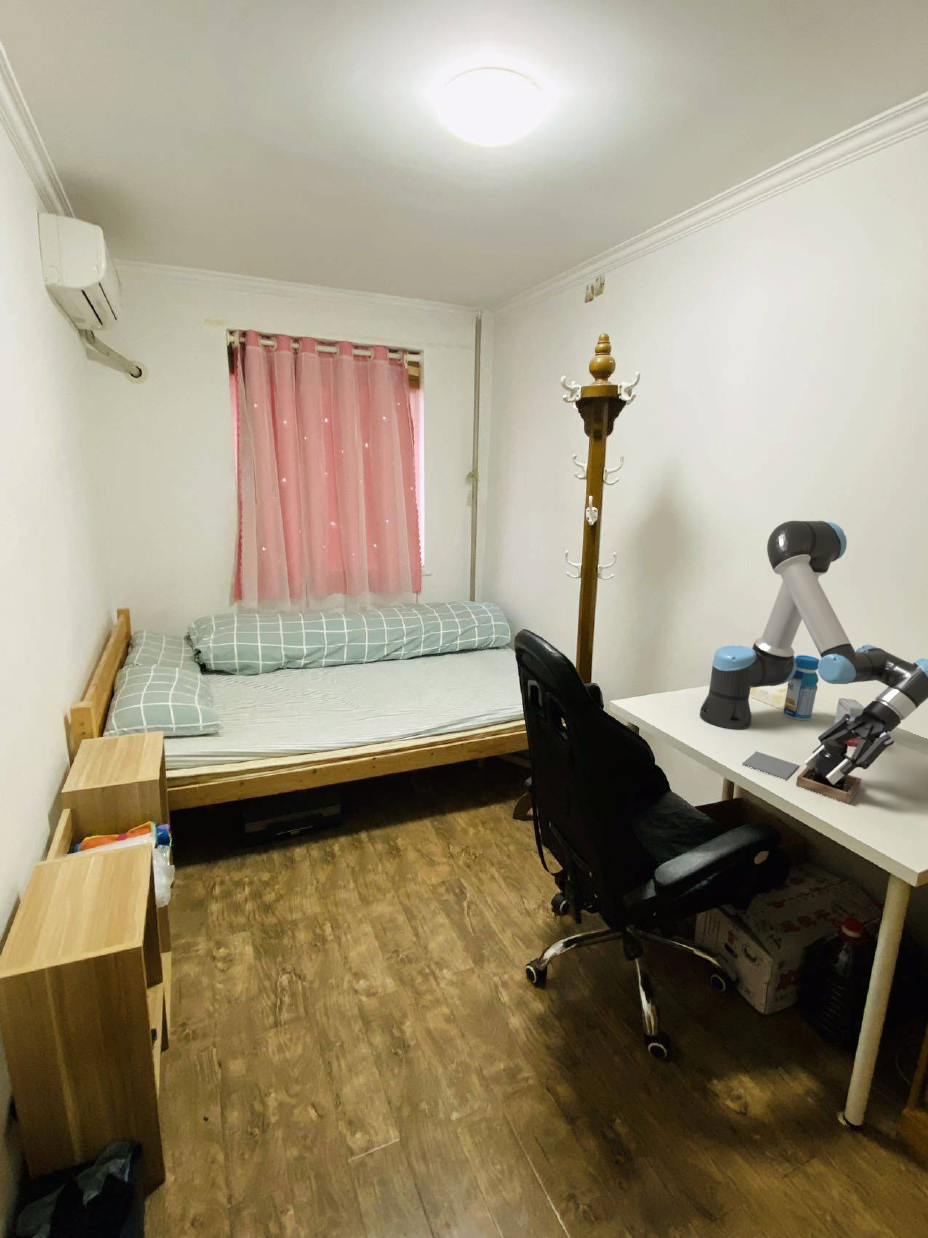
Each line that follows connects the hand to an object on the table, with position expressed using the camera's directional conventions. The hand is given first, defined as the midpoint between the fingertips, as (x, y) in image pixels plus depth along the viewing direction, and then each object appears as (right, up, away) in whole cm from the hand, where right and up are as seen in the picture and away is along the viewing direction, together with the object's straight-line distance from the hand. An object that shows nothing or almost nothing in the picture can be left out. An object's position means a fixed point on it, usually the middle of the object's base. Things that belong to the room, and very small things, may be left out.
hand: (818, 773), depth 150 cm
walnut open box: (+3, -4, +2) cm, 5 cm away
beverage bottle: (+21, +6, +47) cm, 52 cm away
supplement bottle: (+3, -4, +2) cm, 6 cm away
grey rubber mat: (-6, -1, +12) cm, 13 cm away
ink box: (+26, +2, +30) cm, 40 cm away
